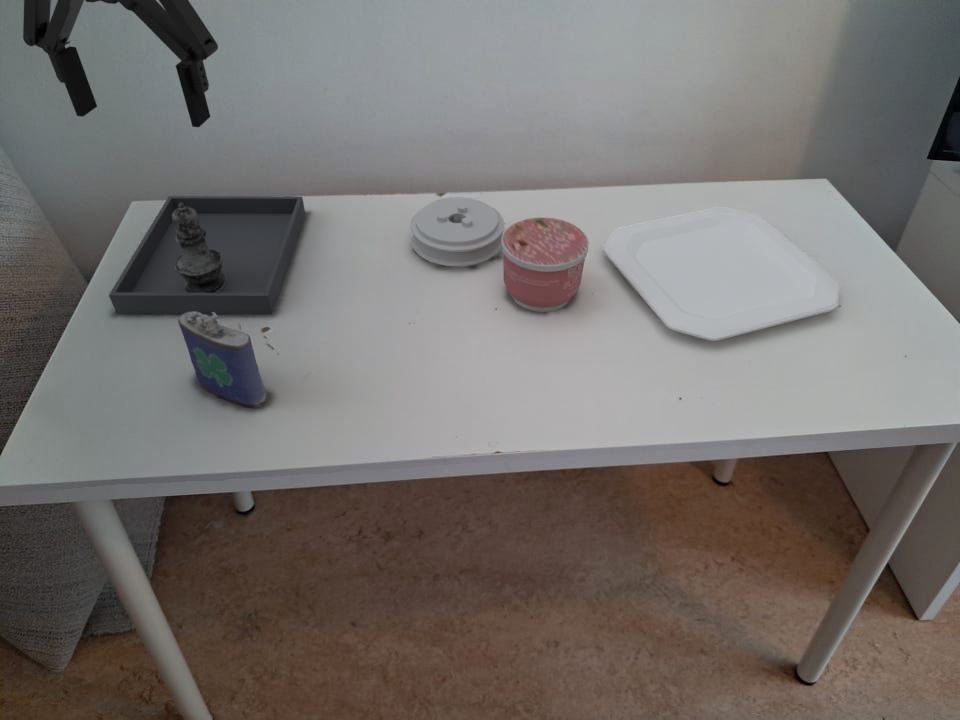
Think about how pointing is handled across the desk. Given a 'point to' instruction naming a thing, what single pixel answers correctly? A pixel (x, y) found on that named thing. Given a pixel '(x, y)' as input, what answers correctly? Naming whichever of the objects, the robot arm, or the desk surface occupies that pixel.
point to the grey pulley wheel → (457, 232)
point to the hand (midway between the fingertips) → (143, 116)
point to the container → (543, 262)
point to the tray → (230, 230)
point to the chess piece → (196, 254)
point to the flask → (223, 360)
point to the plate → (720, 272)
